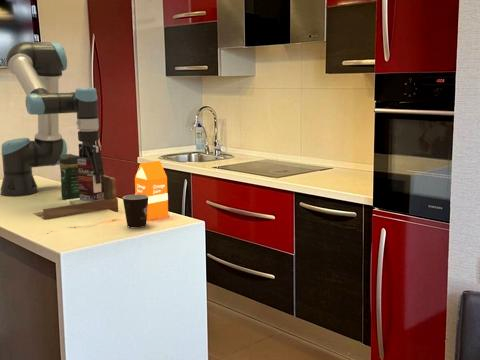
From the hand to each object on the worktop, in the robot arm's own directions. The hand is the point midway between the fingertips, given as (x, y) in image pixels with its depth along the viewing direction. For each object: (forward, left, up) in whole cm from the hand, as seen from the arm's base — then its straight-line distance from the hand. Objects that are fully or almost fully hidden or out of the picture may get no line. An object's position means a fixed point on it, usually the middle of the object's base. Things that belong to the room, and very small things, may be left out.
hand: (91, 190), depth 223 cm
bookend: (0, -7, -5) cm, 9 cm away
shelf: (0, -6, -8) cm, 11 cm away
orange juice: (+21, +14, -8) cm, 26 cm away
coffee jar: (-27, +4, -8) cm, 29 cm away
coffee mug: (+29, +2, -8) cm, 30 cm away
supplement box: (0, 0, -4) cm, 4 cm away
